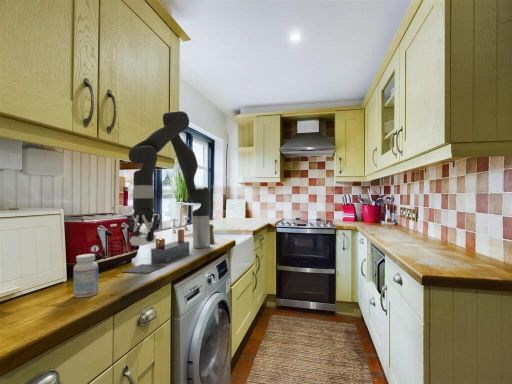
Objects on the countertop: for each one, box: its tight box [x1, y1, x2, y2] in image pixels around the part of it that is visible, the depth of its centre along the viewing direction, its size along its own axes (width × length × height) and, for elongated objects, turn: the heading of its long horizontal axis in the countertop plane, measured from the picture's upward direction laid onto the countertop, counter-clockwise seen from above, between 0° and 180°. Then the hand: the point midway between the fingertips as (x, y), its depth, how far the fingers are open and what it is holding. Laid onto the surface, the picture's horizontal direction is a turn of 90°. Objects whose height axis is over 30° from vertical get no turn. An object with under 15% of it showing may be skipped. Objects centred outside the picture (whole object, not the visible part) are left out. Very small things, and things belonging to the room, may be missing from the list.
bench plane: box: [150, 228, 190, 265], centre depth 123 cm, size 20×7×12 cm, turn 166°
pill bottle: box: [72, 253, 100, 299], centre depth 78 cm, size 6×6×11 cm
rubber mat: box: [121, 263, 166, 275], centre depth 105 cm, size 11×11×1 cm
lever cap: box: [130, 231, 157, 247], centre depth 105 cm, size 8×5×4 cm, turn 166°
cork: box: [209, 223, 215, 244], centre depth 164 cm, size 6×6×11 cm
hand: (144, 241), depth 105 cm, fingers closed on lever cap, 5 cm apart
